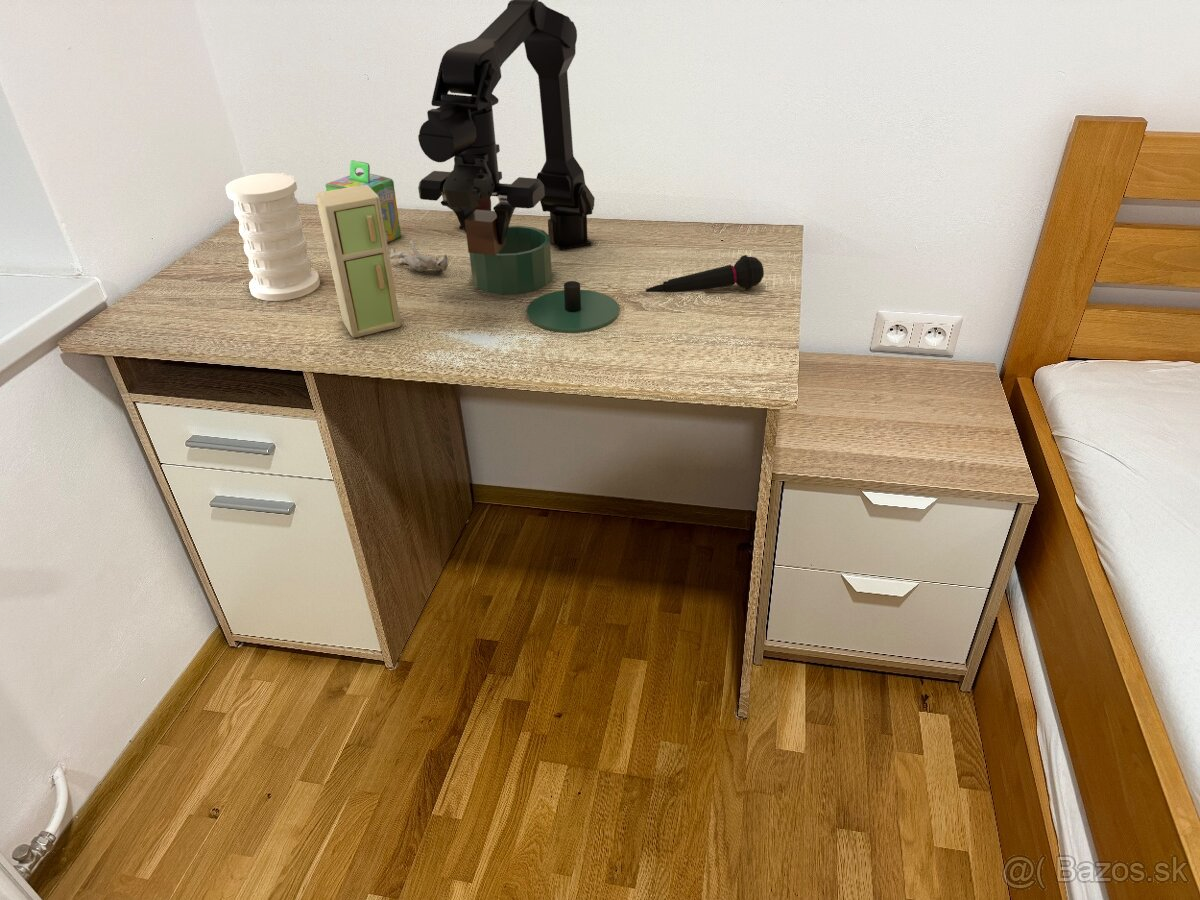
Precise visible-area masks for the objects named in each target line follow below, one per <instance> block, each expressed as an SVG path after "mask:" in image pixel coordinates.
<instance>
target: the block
mask: <svg viewBox="0 0 1200 900" xmlns="http://www.w3.org/2000/svg"><path fill="white" fill-rule="evenodd" d="M465 227H466V232H465V234H466V235H465V236H466V243H467V251H468V253H469V254H470V253H476V254H486V255H496V254H497V253H498V252H499V251H500V250H501V249H502V248H503V247H504V246H505V245H506V237H505V240H504V243H503V244H502V245H499V241H498V235H497V215H496V213H495V211H494V210H491V211H487V210H475V211H474V212H473V213H472V214H471V215H470V216H469V217H467V218H466V219H465Z"/></svg>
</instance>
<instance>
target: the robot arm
mask: <svg viewBox="0 0 1200 900" xmlns="http://www.w3.org/2000/svg"><path fill="white" fill-rule="evenodd" d="M577 39H578V31H577V27H576V25H575V23H574V21H572V20H571V18H570V16H567V15H565V14H563V13H562V12H559V11H557V10H554V9H552V8H550V7H548V6H547V5H546V4H544V3H543V2H542V1H540V0H509V1H508V3H507V7H506V8H505V9H504V10H503V11H502V12H501V13H500V14H499V15H498V16H497V17H496V18H495V19H494V20H493V21H492V22H491V23H490V24H489V25H488V26H487V27H486V28H485V29H484V30H483V31H482V32H481V33H480V34H479V35H478V36H477V37H476V38H475V39H472V40H470V41H466V42H461V43H458V44H456V45H454V46H452V47H450V48H449V49H448V50H446V51H445V52H444V54H443V56H442V58H441V59H440V64H439V67H438V71H437V76H436V80H435V86H434V89H433V94H432V98H431V106H432V107H436V108H431V109H429V110H427V120H426V121H424V122H423V123H422V124H421V126H420V128H419V132H418V135H417V140H418V143H419V146H420V149H421V151H422V152H423V154H424V155H425V157H427V158H428V159H430V160H431V161H433V162H435V163H445V162H448V161H449V160H451V159H452V158H453V162H454V164H453V170H451V171H442V170H441V171H440V170H433V171H431V172H430V173H429V174H427V175H425V176H424V177H423V178H422V179H420V181H419V182H418V187H417V189H418V196H419V199H420V200H423V201H424V200H425V201H438V200H439V199H440V198H441V197H442V200H441V201H440V204H441V205H442V206H443V207H447V208H448V209H450V210H452V211H453V213H454V214H455V216H456V218H457V217H458V218H457V220H458V219H459V220H460V222H461V224H462V226H463V228H464V229H463V230H464V232H465V233H466V227H465V219H466V218H467V217H469V216H470V215H471V214H472V213H473V212H474V208H476V207H477V206H478V205H479V203H480V200H482V199H491V197H497V198H498V203H497V204H495V206H493V208H492V210H493V211H495V213H496V215H497V235H498V241H499V245H502V244H503V243H504V240H505V236H506V233H507V230H508V226H510V222H511V220H512V216H513V214H514V212H515V210H516V208H517V209H520V208H521V209H529V210H530V209H533V208H534V207H536V206H537V204H538V203H540V205H541V209H542V212H548V213H549V218H548V219H547V231H548V232H547V234H548V235H549V236H550V244H552V245H554V246H555V248H557V249H558V250H560V251H564V250H569V249H574V248H579V247H584V246H590V245H592V241H591V240H590V239H589V238H588V216H590V215H592V214H593V211H594V208H595V199H596V198H595V196H594V195H593V193H592V192H591V190H590V189H589V187H588V185H587V184H586V179H585V173H584V170H583V168H582V167H581V165H580V164H579V162H578V161H577V159H576V158H575V156H574V147H573V134H572V133H573V132H572V119H571V106H570V105H571V104H570V91H569V78H568V70H569V68H570V67H571V65H572V62H573V60H574V58H575V57H576V52H577V51H576V49H577V47H576V44H577ZM522 44H523V45H524V50H525V56H526V59H527V61H528V62H529V64H530V65H531V67H532V68H533V70H534V71H535V73H536V74H537V78H538V89H539V98H540V109H541V119H542V120H541V121H542V130H543V131H542V132H543V140H544V141H543V142H544V151H545V152H544V153H545V161H544V164H543V166H542V168H541V169H540V171H539V172H537V174H536V178H534V177H523V176H522V177H521V176H518V177H517V178H516V179H515V180H514V181H513V182H512V183H500V181H501V180H502V179H503V172H502V171H499V164H498V153H500V152H501V150H500V149H501V148H500V144H497V141H496V131H495V123H494V122H495V121H494V112H493V111H494V109H493V107H494V106H495V105H497V104H499V101H500V100H499V98H498V97H497V96H496V95H494V94H493V93H494V90H495V88H496V87H497V85H498V84H499V82H500V81H501V79H502V69H501V68H502V65H503V64H504V63H505V62H506V61H507V60H508V59H509V58H510V56H511V55H513V53H514V52H515V51H516V50H517V49H518V48H519V47H520V46H521V45H522ZM459 220H458V221H459Z"/></svg>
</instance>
